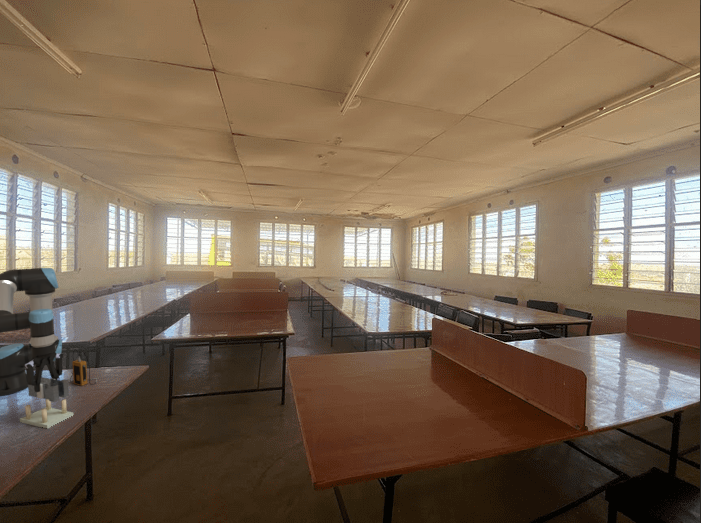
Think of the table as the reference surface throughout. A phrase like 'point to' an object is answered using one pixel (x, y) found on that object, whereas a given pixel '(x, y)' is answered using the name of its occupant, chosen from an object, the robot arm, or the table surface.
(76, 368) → the multimeter
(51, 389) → the long grey bar
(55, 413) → the peg rack
